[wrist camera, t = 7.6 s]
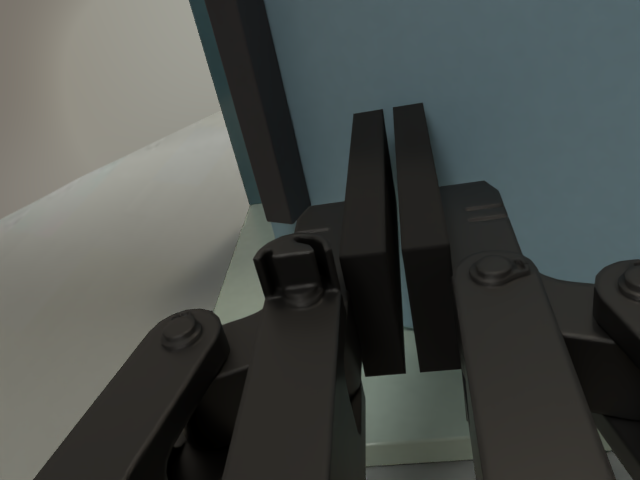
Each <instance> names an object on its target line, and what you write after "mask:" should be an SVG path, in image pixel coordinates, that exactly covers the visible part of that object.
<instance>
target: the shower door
mask: <svg viewBox="0 0 640 480" xmlns="http://www.w3.org/2000/svg"><path fill="white" fill-rule="evenodd" d="M204 1H205V5H206V8H207V12H208V15H209V19H210V22H211V26H212V29H213V33H214V36H215V40H216V43H217V47H218V50H219V54H220V58H221V61H222V65H223V68H224V72H225V75H226V79H227V82H228V86H229V89H230V93H231V96H232V100H233V103H234V107H235V110H236V114H237V118H238V121H239V125H240V128H241V132H242V135H243V139H244V142H245V146H246V149H247V153H248V156H249V160H250V163H251V167H252V170H253V174H254V178H255V181H256V185H257V188H258V192H259V195H260V199H261V202H262V206H263V209H264V213H265V216H266V220H267V221H268V222H271V225H272V229H273V232H274V236H275V239H276V238H279V237H281V236H284V235H289V234H293V233H294V231H295V227H296V222H297V219H298V218H299V217H300V216H301V214H302V213H303V212H304V211H305V210H306V209H307V208H308V207H309V206H313V205H320V204H328V203H335V202H342V201H345V192H346V182H347V172H348V163H349V153H350V143H351V133H352V123H353V114H355V113H361V112H367V111H373V110H380V109H383V114H384V121H385V127H386V134H387V141H388V147H389V154H390V161H391V168H392V174H393V181H394V188H395V195H396V201H397V218H398V237H399V255H400V273H401V291H402V309H403V326H405V327H410V328H413V323H412V316H411V310H410V303H409V296H408V290H407V283H406V277H405V270H404V263H403V257H402V250H401V234H400V218H399V202H398V185H397V169H396V153H395V136H394V120H393V107H398V106H404V105H410V104H416V103H423V106H424V112H425V117H426V122H427V127H428V132H429V138H430V143H431V148H432V153H433V159H434V164H435V169H436V174H437V179H438V185H439V187H440V186H447V185H455V184H462V183H469V182H477V181H486V182H487V183H489V184H490V185H491V186H493V187H494V188H496V189H497V190H499V193H500V195H501V198H502V201H503V203H504V206H505V209H506V211H507V214H508V217H509V219H510V222H511V225H512V227H513V230H514V233H515V235H516V238H517V241H518V243H519V246H520V249H521V251H522V254H523V256H525V257H527V258H529V259H531V260H532V262H533V263H534V264H535V266H536V267H537V268H538V271H539V272H540V273H541V274H543V275H545V276H549V277H552V278H555V279H559V280H565V281H571V282H581V283H592V284H595V277H596V275H597V274H598V273H599V272H600V271H601V270H602V269H603V268H604V267H606V266H608V265H610V264H613V263H615V262H618V261H625V260H633V259H640V0H204Z"/></svg>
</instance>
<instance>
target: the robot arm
mask: <svg viewBox="0 0 640 480" xmlns="http://www.w3.org/2000/svg"><path fill="white" fill-rule="evenodd" d="M393 120H394V136H395V153H396V169H397V185H398V202H399V218H400V234H401V250H402V257H403V263H404V270H405V277H406V283H407V290H408V296H409V303H410V310H411V316H412V323H413V330H414V336H415V343H416V349H417V356H418V363H419V369H420V373H421V372H433V371H445V370H458V369H461V370H462V380H463V390H464V400H465V411H466V421H468V426H469V433H470V440H471V447H472V454H473V461H474V468H475V475H476V480H616V479H615V476H614V473H613V471H612V468H611V465H610V462H609V460H608V457H607V454H606V452H605V449H604V446H603V444H602V441H601V438H600V435H599V433H598V430H599V432H600V433H601V435H602V436H603V438H604V439H605V440H606V442H607V443H608V445H609V446H610V448H611V449H612V450H613V452H614V453H615V455H616V456H617V458H618V459H619V460H620V462H621V463H622V465H623V466H624V467H625V469H626V470H627V472H628V473H629V475H630V476H631V477H632V479H633V480H640V259H633V260H625V261H618V262H615V263H613V264H610V265H608V266H606V267H604V268H603V269H602V270H601V271H600V272H599V273H598V274H597V275H596V277H595V284H592V283H581V282H571V281H565V280H559V279H555V278H552V277H549V276H545V275H543V274H541V273H540V272H539V271H538V268H537V267H536V266H535V264H534V263H533V262H532V260H531V259H529V258H527V257H525V256H523V254H522V251H521V249H520V246H519V243H518V241H517V238H516V235H515V233H514V230H513V227H512V225H511V222H510V219H509V217H508V214H507V211H506V209H505V206H504V203H503V201H502V198H501V195H500V193H499V190H497V189H496V188H494V187H493V186H491V185H490V184H489V183H487V182H486V181H477V182H469V183H462V184H455V185H447V186H440V187H439V185H438V179H437V174H436V169H435V164H434V159H433V153H432V148H431V143H430V138H429V132H428V127H427V122H426V117H425V112H424V106H423V103H416V104H410V105H404V106H398V107H393ZM253 262H254V265H255V268H256V271H257V275H258V278H259V281H260V284H261V287H262V290H263V294H264V297H265V301H264V305H263V309H261V310H260V311H258V312H256V313H254V314H252V315H249V316H247V317H244V318H241V319H238V320H235V321H232V322H229V323H226V324H223V325H222V324H221V321H220V318H219V317H218V316H217V315H216V314H215V313H213V312H212V311H209V310H205V309H191V310H185V311H181V312H178V313H176V314H173V315H171V316H169V317H167V318H166V319H164V320H162V321H161V322H159V323H158V324H157V325H156V326H155V327H154V328H153V329H152V330H151V331H150V332H149V333H148V334H147V335H146V336H145V338H144V339H143V340H142V342H141V343H140V344H139V345H138V347H137V348H136V349H135V350H134V352H133V353H132V354H131V356H130V357H129V358H128V359H127V361H126V362H125V363H124V365H123V366H122V367H121V368H120V370H119V371H118V372H117V373H116V375H115V376H114V377H113V379H112V380H111V381H110V382H109V384H108V385H107V386H106V387H105V389H104V390H103V391H102V393H101V394H100V395H99V396H98V398H97V399H96V400H95V401H94V403H93V404H92V405H91V407H90V408H89V409H88V410H87V412H86V413H85V414H84V415H83V417H82V418H81V419H80V421H79V422H78V423H77V424H76V426H75V427H74V428H73V430H72V431H71V432H70V433H69V435H68V436H67V437H66V438H65V440H64V441H63V442H62V444H61V445H60V446H59V447H58V449H57V450H56V451H55V452H54V454H53V455H52V456H51V458H50V459H49V460H48V461H47V463H46V464H45V465H44V466H43V468H42V469H41V470H40V472H39V473H38V474H37V475H36V477H35V478H34V479H33V480H366V398H365V394H364V389H363V385H362V380H361V372H362V364H363V369H364V373H365V377H371V376H384V375H396V374H406V363H405V345H404V327H403V309H402V291H401V273H400V255H399V237H398V218H397V201H396V195H395V188H394V181H393V174H392V168H391V161H390V154H389V147H388V141H387V134H386V127H385V121H384V114H383V109H380V110H373V111H367V112H361V113H355V114H353V123H352V133H351V143H350V153H349V163H348V172H347V182H346V192H345V201H342V202H335V203H328V204H320V205H313V206H309V207H308V208H307V209H306V210H305V211H304V212H303V213H302V214H301V216H300V217H299V218H298V219H297V222H296V227H295V231H294V233H293V234H289V235H284V236H281V237H279V238H276V239H274V240H272V241H270V242H268V243H267V244H265V245H264V246H263V247H262V248H260V249H259V250H258V251H257V253H256V255H255V256H254V258H253ZM597 429H598V430H597Z"/></svg>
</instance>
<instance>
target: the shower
mask: <svg viewBox="0 0 640 480" xmlns="http://www.w3.org/2000/svg"><path fill="white" fill-rule="evenodd" d="M189 2H190V6H191V9H192V12H193V16H194V19H195V23H196V26H197V29H198V33H199V36H200V39H201V43H202V46H203V50H204V53H205V56H206V60H207V63H208V66H209V70H210V73H211V77H212V80H213V83H214V86H215V90H216V93H217V97H218V100H219V103H220V107H221V110H222V114H223V117H224V120H225V124H226V127H227V130H228V134H229V137H230V141H231V144H232V147H233V151H234V154H235V157H236V161H237V164H238V168H239V171H240V174H241V178H242V181H243V184H244V188H245V191H246V195H247V198H248V201H249V204H250V207H249V210H248V213H247V216H246V219H245V222H244V225H243V227H242V230H241V233H240V236H239V239H238V242H237V245H236V248H235V251H234V253H233V256H232V259H231V262H230V265H229V268H228V271H227V274H226V277H225V279H224V282H223V285H222V288H221V291H220V294H219V297H218V300H217V303H216V306H215V308H214V311H213V313H215V314H216V315H217V316H218V317H219V318H220V321H221V324H222V325H223V324H226V323H229V322H232V321H235V320H238V319H241V318H244V317H247V316H249V315H252V314H254V313H256V312H258V311H260V310H261V309H263V305H264V301H265V297H264V294H263V290H262V287H261V284H260V281H259V278H258V275H257V271H256V268H255V265H254V262H253V258H254V256H255V255H256V253H257V251H258V250H259V249H260V248H262V247H263V246H264V245H265V244H267V243H268V242H270V241H272V240H274V239H275V236H274V232H273V229H272V225H271V222H268V221H267V220H266V216H265V213H264V209H263V206H262V202H261V199H260V195H259V192H258V188H257V185H256V181H255V178H254V174H253V170H252V167H251V163H250V160H249V156H248V153H247V149H246V146H245V142H244V139H243V135H242V132H241V128H240V125H239V121H238V118H237V114H236V110H235V107H234V103H233V100H232V96H231V93H230V89H229V86H228V82H227V79H226V75H225V72H224V68H223V65H222V61H221V58H220V54H219V50H218V47H217V43H216V40H215V36H214V33H213V29H212V26H211V22H210V19H209V15H208V12H207V8H206V5H205V1H204V0H189ZM403 327H404V345H405V363H406V374H396V375H384V376H371V377H365V373H364V369H363V364H362V372H361V380H362V385H363V389H364V394H365V398H366V467H367V466H383V465H398V464H414V463H429V462H445V461H460V460H473V454H472V447H471V440H470V433H469V426H468V421H466V411H465V400H464V390H463V380H462V370H461V369H458V370H445V371H433V372H421V373H420V369H419V363H418V356H417V349H416V343H415V336H414V330H413V328H410V327H405V326H403ZM597 430H598V429H597ZM598 433H599V435H600V438H601V441H602V444H603V446H604V449H605V451H613V450H612V449H611V448H610V446H609V445H608V443H607V442H606V440H605V439H604V438H603V436H602V435H601V433H600V432H599V430H598Z"/></svg>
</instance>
